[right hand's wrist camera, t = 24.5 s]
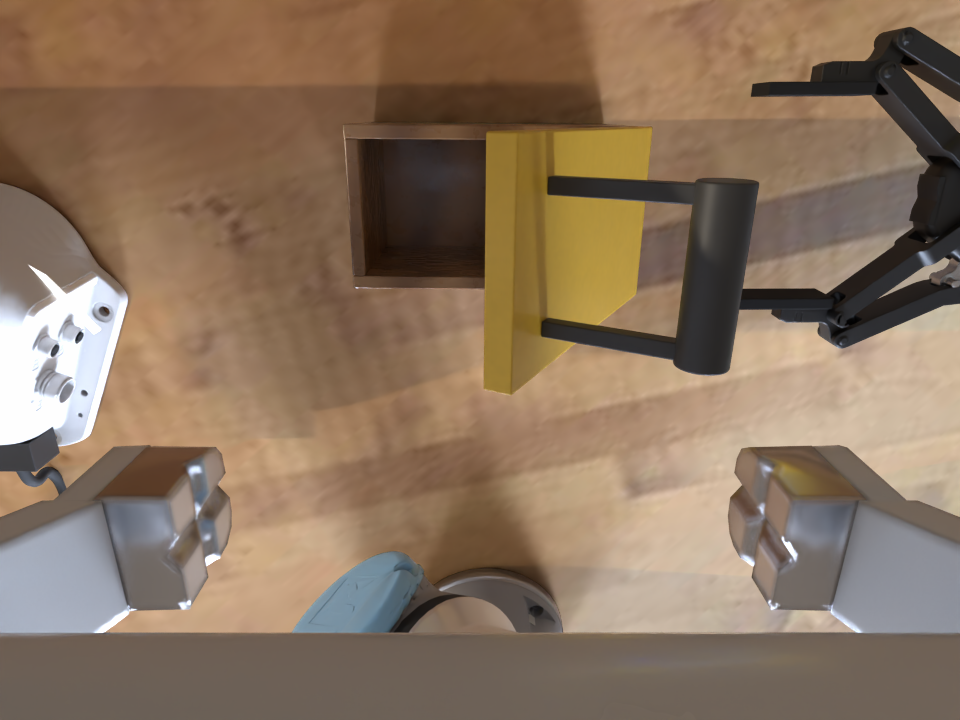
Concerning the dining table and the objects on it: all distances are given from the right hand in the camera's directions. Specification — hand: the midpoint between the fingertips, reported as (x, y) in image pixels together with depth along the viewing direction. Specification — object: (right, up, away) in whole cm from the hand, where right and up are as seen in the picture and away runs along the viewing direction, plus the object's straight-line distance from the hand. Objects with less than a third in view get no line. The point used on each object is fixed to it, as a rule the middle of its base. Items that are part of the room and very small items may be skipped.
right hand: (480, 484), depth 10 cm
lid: (+4, +8, +21) cm, 23 cm away
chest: (+1, +15, +39) cm, 42 cm away
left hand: (+18, +13, +32) cm, 39 cm away
